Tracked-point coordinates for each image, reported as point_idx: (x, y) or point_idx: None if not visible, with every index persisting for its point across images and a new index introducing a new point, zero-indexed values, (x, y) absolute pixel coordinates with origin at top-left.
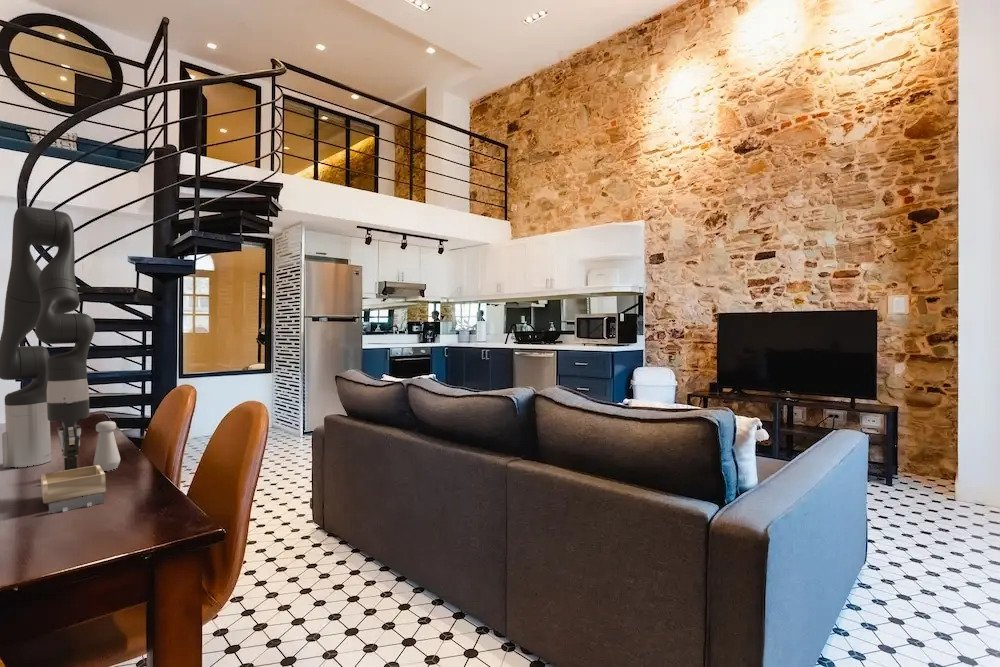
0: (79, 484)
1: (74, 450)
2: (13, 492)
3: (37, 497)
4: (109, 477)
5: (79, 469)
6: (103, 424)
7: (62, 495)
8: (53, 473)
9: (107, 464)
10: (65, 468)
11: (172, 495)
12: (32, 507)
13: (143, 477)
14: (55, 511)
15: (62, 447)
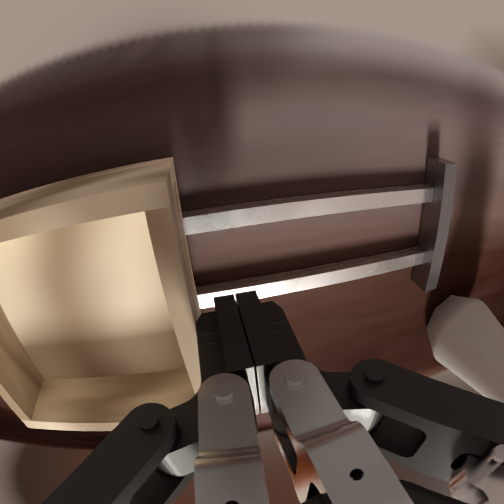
0: None
1: (168, 475)
2: (400, 53)
3: (232, 128)
4: (354, 340)
5: (186, 367)
6: None
7: None
8: (157, 256)
9: (436, 338)
10: (217, 318)
11: (43, 441)
12: (57, 139)
13: (267, 413)
14: None
15: (199, 471)
